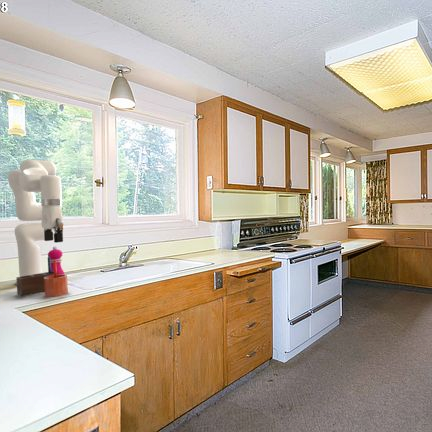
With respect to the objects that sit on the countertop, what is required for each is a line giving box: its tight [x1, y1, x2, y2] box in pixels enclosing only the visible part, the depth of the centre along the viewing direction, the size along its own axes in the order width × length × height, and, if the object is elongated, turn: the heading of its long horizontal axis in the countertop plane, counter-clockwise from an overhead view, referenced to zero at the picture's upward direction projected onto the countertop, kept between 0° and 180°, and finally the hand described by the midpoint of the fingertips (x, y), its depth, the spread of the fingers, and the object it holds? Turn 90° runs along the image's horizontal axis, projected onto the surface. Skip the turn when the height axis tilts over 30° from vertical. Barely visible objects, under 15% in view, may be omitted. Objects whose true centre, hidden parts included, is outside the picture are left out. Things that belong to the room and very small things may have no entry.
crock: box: [44, 273, 69, 298], centre depth 142 cm, size 8×8×9 cm
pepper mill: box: [47, 246, 66, 274], centre depth 162 cm, size 7×7×20 cm
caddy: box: [15, 271, 59, 297], centre depth 147 cm, size 5×15×9 cm, turn 148°
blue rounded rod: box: [47, 256, 51, 274], centre depth 151 cm, size 3×1×16 cm, turn 57°
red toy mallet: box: [53, 260, 57, 278], centre depth 142 cm, size 3×1×16 cm, turn 58°
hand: (53, 241), depth 142 cm, fingers open, 9 cm apart
